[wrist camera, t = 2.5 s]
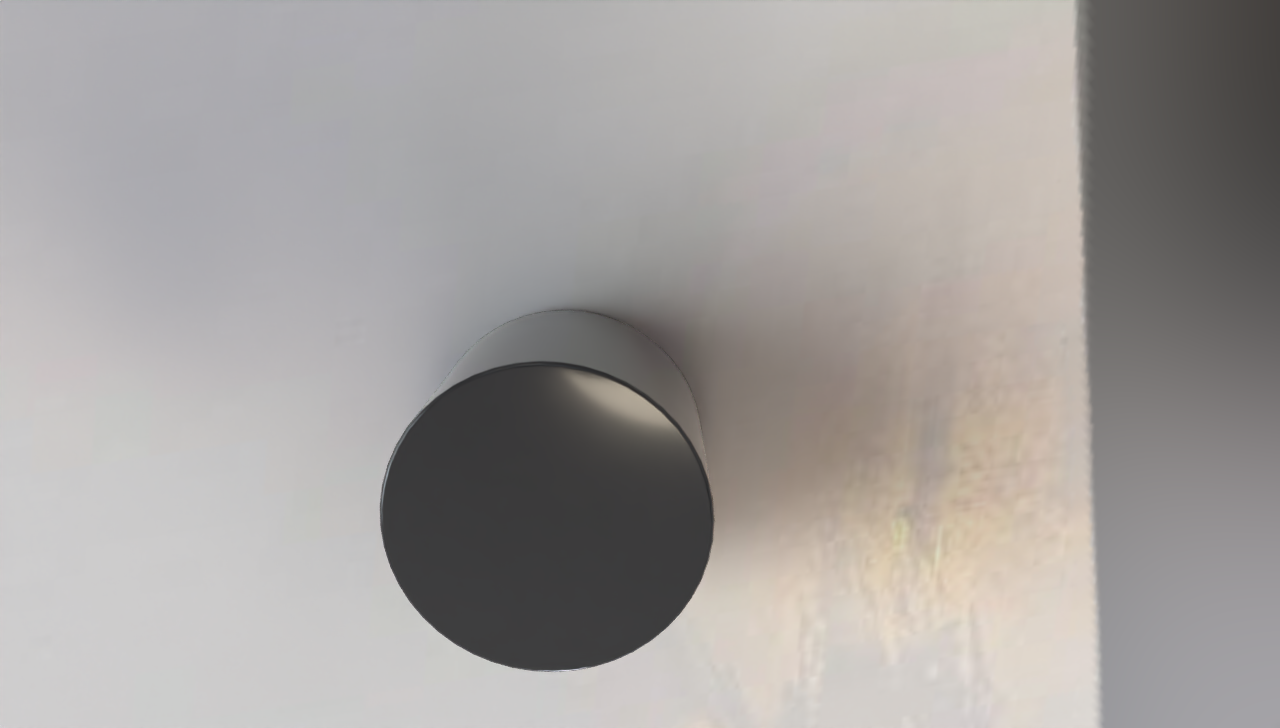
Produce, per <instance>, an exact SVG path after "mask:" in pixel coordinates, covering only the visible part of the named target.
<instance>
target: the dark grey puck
mask: <svg viewBox="0 0 1280 728" xmlns="http://www.w3.org/2000/svg"><path fill="white" fill-rule="evenodd" d="M380 526H381V532H382V538H383V544H384V548H385V551H386V554H387V558H388V561H389V564H390V567H391V569H392V571H393V573H394V575H395V577H396V580H397V582H398V584H399V586H400V587H401V589H402V590H403V592H404V593H405V595H406V597H407V598H408V600H409V601H410V603H411V604H412V605H413V606H414V607H415V609H416V610H417V611H418V612H419V613H420V615H421V616H422V617H423V618H424V619H425V620H426V621H427V622H428V623H429V624H430V625H432V626H433V627H434V628H435V629H436V630H437V631H438V632H439V633H441V634H442V635H443V636H445V637H446V638H448V639H449V640H450V641H452V642H453V643H454V644H456V645H458V646H460V647H461V648H463V649H465V650H467V651H469V652H470V653H472V654H474V655H477V656H479V657H482V658H484V659H486V660H489V661H491V662H494V663H498V664H501V665H505V666H508V667H512V668H518V669H524V670H530V671H544V672H560V671H574V670H580V669H585V668H590V667H595V666H598V665H601V664H605V663H608V662H611V661H614V660H616V659H619V658H621V657H623V656H625V655H627V654H629V653H632V652H634V651H635V650H637V649H638V648H640V647H642V646H643V645H645V644H646V643H648V642H650V641H651V640H652V639H654V638H655V637H656V636H657V635H659V634H660V633H661V632H662V631H663V630H665V629H666V628H667V627H668V626H669V625H670V624H671V623H672V622H673V621H674V620H675V619H676V617H677V616H678V615H679V614H680V613H681V612H682V611H683V609H684V608H685V606H686V605H687V604H688V602H689V601H690V599H691V598H692V597H693V595H694V593H695V591H696V589H697V587H698V585H699V584H700V582H701V580H702V578H703V575H704V572H705V569H706V567H707V564H708V561H709V557H710V552H711V548H712V543H713V534H714V507H713V497H712V491H711V485H710V479H709V473H708V467H707V461H706V455H705V449H704V443H703V437H702V431H701V425H700V420H699V415H698V410H697V406H696V403H695V400H694V398H693V395H692V392H691V389H690V388H689V386H688V384H687V382H686V380H685V378H684V376H683V374H682V373H681V372H680V370H679V369H678V367H677V366H676V365H675V363H674V362H673V360H672V359H671V358H670V357H669V356H668V355H667V354H666V353H665V352H664V351H663V350H662V349H661V347H659V346H658V345H657V344H656V343H654V342H653V341H652V340H651V339H650V338H648V337H647V336H646V335H644V334H642V333H641V332H639V331H638V330H636V329H634V328H633V327H631V326H629V325H627V324H625V323H622V322H620V321H618V320H616V319H613V318H610V317H606V316H603V315H600V314H596V313H590V312H584V311H575V310H555V311H544V312H539V313H534V314H530V315H526V316H523V317H520V318H517V319H515V320H512V321H509V322H507V323H505V324H503V325H501V326H500V327H498V328H496V329H494V330H492V331H491V332H490V333H488V334H487V335H485V336H484V337H482V338H481V339H480V340H479V341H477V342H476V343H475V344H474V345H473V346H472V347H471V348H470V349H469V350H468V351H467V352H466V353H465V354H464V355H463V357H462V358H461V359H460V360H459V362H458V363H457V364H456V365H455V367H454V368H453V369H452V370H451V372H450V373H449V374H448V376H447V377H446V378H445V379H444V381H443V382H442V383H441V385H440V386H439V387H438V388H437V390H436V391H435V392H434V393H433V395H432V396H431V397H430V399H429V400H428V401H427V402H426V404H425V405H424V406H423V408H422V409H421V410H420V411H419V413H418V414H417V415H416V417H415V418H414V419H413V420H412V422H411V423H410V424H409V425H408V427H407V428H406V430H405V431H404V433H403V435H402V436H401V438H400V440H399V441H398V443H397V444H396V446H395V448H394V451H393V453H392V456H391V458H390V460H389V463H388V465H387V469H386V472H385V476H384V480H383V484H382V491H381V500H380Z"/></svg>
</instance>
